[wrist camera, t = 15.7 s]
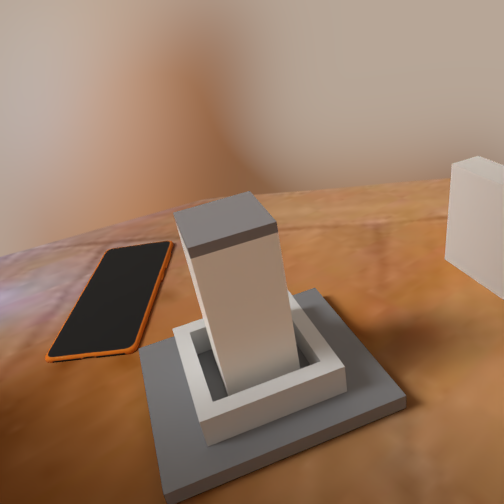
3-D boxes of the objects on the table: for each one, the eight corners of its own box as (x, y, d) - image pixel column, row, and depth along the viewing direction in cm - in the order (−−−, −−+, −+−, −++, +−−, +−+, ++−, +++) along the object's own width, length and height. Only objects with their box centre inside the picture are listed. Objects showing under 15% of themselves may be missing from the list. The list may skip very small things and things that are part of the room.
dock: (168, 506, 24) (152, 470, 22) (142, 358, 34) (130, 327, 32) (406, 407, 26) (406, 369, 25) (316, 298, 37) (312, 266, 35)
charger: (232, 406, 27) (187, 248, 22) (214, 358, 31) (173, 212, 26) (302, 380, 28) (276, 221, 23) (276, 336, 32) (249, 191, 26)
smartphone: (44, 367, 36) (40, 359, 35) (108, 255, 50) (106, 248, 50) (139, 356, 35) (135, 348, 34) (176, 245, 49) (174, 238, 49)
